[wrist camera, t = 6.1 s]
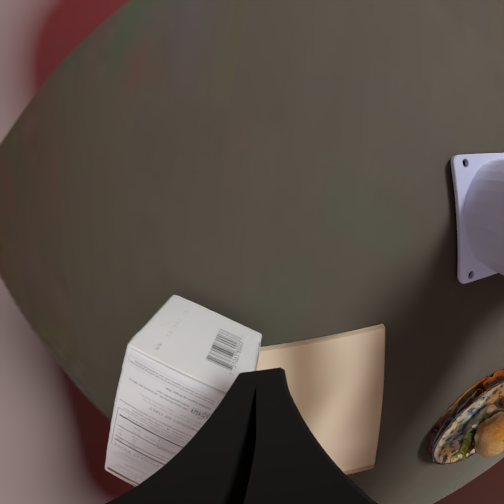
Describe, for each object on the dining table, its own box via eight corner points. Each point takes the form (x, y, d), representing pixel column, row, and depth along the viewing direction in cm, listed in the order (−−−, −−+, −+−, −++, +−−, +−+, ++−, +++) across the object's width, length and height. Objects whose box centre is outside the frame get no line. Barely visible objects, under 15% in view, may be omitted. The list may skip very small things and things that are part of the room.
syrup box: (265, 333, 16) (193, 454, 20) (170, 288, 16) (130, 424, 20) (253, 403, 11) (174, 504, 15) (119, 339, 11) (102, 470, 15)
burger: (412, 465, 21) (431, 517, 13) (446, 386, 18) (486, 446, 11) (494, 433, 20) (519, 472, 12) (532, 353, 17) (572, 390, 10)
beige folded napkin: (382, 323, 16) (385, 327, 16) (372, 464, 20) (373, 468, 19) (179, 355, 18) (176, 360, 17) (236, 482, 21) (235, 486, 21)
